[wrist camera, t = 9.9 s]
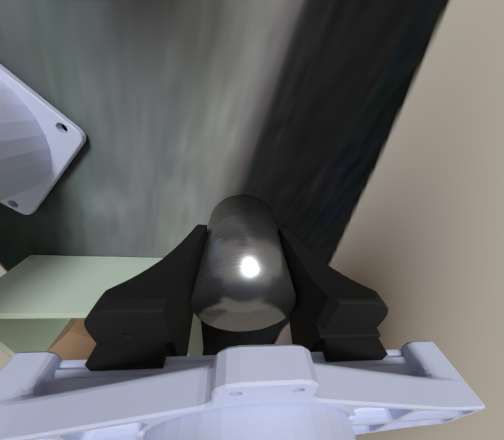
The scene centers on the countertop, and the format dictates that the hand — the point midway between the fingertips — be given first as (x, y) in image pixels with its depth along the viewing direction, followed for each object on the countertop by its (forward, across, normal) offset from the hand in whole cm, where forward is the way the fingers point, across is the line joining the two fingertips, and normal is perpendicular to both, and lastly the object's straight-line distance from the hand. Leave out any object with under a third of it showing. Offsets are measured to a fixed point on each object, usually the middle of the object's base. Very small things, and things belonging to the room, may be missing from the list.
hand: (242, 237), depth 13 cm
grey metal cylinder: (+2, 0, 0) cm, 2 cm away
